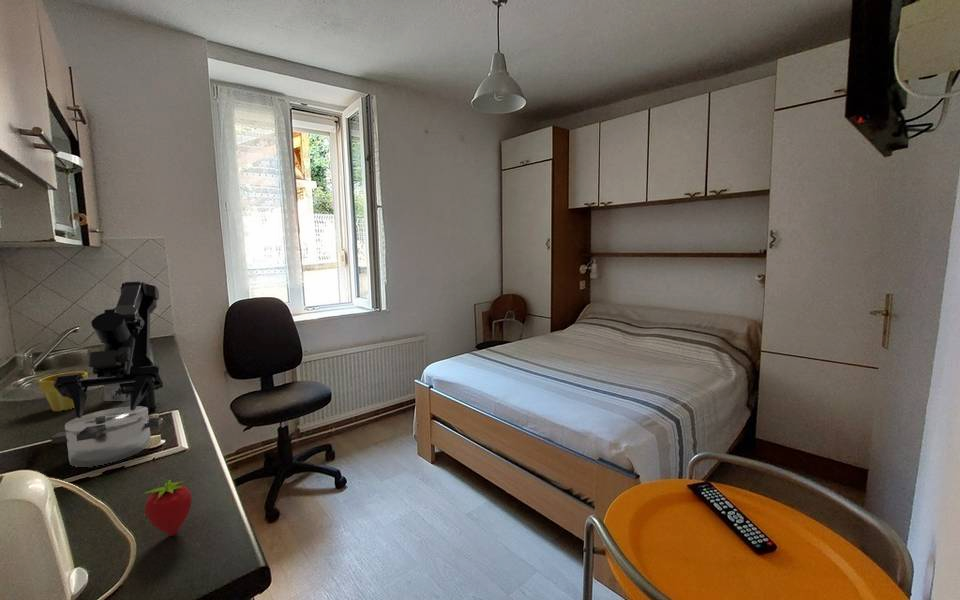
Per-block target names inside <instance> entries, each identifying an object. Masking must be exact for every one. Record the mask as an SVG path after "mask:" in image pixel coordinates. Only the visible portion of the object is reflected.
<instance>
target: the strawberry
mask: <svg viewBox="0 0 960 600" xmlns="http://www.w3.org/2000/svg"><path fill="white" fill-rule="evenodd" d="M158 478H160V479H162V480H164V481H166V482H165V483H164V484H163V486H162V487H156V488H152V489H151V490H148V491H146V492H143V495H146V494H151V495H150V496H149V497H148V499H147V500H146V502H145V507H144V514H145V515H146V518H147V520H148V521H149V523H150V524H151V525H152V526H154V528H155V529H158V530H159V531H161V532H163V533H165V534H167V535H168V536H171V537H174V536H176V535H177V534H178V532H179V531H180V529H181V527H182V525H183V524H184V523H185V520H186V519H187V517H188V516H189V513H190V511H191V507H192V502H193V501H192V500H193V496H192V493H191V491H190V489H189V488H188V487H186V486H185V485H182V484H183V483H185V482H186V481H187V480H183V481H182V480H181V481H177V482H171V481H172V480H171V479H166V478H163V477H161V476H160V477H158Z"/></svg>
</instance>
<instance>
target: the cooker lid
mask: <svg viewBox="0 0 960 600" xmlns="http://www.w3.org/2000/svg"><path fill="white" fill-rule="evenodd" d="M130 406H131V405H129V406H120V407H114V408H109V409H104V410H99V411H95V412H91V413H90V412H89V413H87V414H83V415H82V417H81V418H78V417H75V418H73V419H71V420H68V421H67V422H66V423H65V424H64V430H65V431H66V432H69V433H79V434H77V435H76V436H77V441H81V440H87V439H93V438H97V437H98V436H99V435H100V434H102V433H103V432H104V431H105V430H106V429H110V428H115V427H119V426H123V425H126V424H129V423H132V422H135V421H137V420H140V419H142V418H144V417H145V416H147V415H148V416H149V412H148V408H147V407H143V406H137V407H136V408H135V409H134V410H131V409H130ZM65 431H64V432H65Z"/></svg>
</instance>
